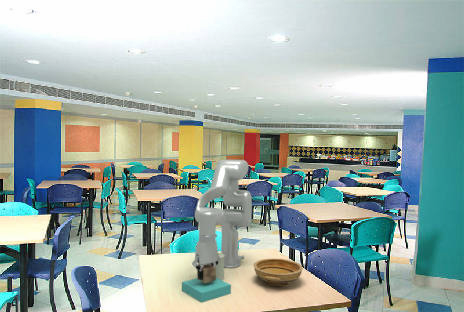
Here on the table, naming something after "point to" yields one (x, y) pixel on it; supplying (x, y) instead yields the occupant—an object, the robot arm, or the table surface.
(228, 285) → the teal base
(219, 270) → the can
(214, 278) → the walnut cube
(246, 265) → the table surface
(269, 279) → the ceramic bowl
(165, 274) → the table surface
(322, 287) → the table surface
